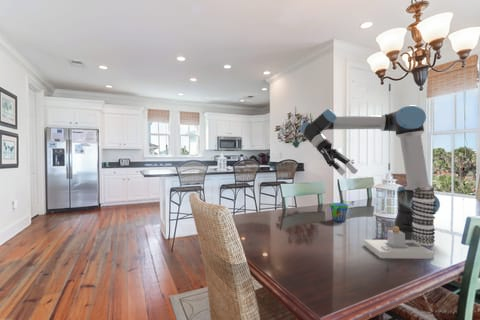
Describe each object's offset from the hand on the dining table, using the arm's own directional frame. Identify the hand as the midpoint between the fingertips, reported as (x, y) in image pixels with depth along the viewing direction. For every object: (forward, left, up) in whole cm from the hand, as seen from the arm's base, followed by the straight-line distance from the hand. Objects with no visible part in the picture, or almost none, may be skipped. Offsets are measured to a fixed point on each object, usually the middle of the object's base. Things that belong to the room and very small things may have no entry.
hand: (350, 173), depth 119 cm
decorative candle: (-29, +7, -32) cm, 44 cm away
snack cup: (-5, -32, -32) cm, 45 cm away
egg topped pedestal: (-11, +18, -31) cm, 38 cm away
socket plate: (-11, +18, -32) cm, 38 cm away
